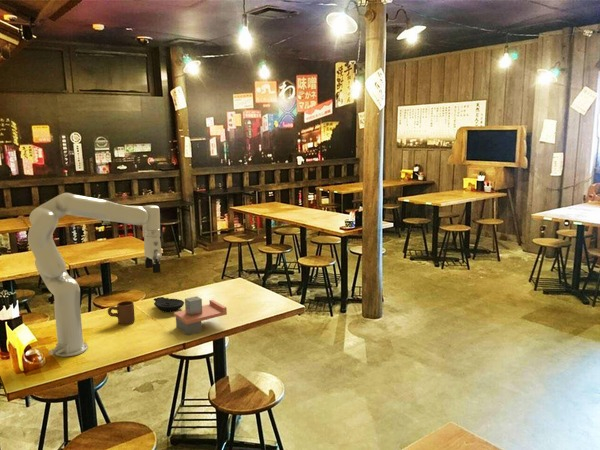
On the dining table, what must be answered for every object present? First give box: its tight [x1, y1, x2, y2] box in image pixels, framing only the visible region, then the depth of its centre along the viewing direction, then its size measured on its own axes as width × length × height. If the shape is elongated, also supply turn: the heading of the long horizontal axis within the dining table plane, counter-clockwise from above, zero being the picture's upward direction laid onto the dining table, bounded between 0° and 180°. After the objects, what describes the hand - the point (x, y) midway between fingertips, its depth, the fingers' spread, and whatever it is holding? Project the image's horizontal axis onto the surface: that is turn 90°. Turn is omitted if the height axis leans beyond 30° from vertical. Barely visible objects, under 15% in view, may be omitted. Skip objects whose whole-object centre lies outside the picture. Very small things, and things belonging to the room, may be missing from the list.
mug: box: [107, 300, 136, 326], centre depth 235 cm, size 12×8×9 cm, turn 125°
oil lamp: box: [153, 296, 185, 314], centre depth 254 cm, size 15×20×5 cm
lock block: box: [184, 295, 203, 316], centre depth 228 cm, size 6×5×7 cm
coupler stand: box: [173, 299, 228, 336], centre depth 231 cm, size 20×14×9 cm
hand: (152, 270), depth 224 cm, fingers open, 9 cm apart
